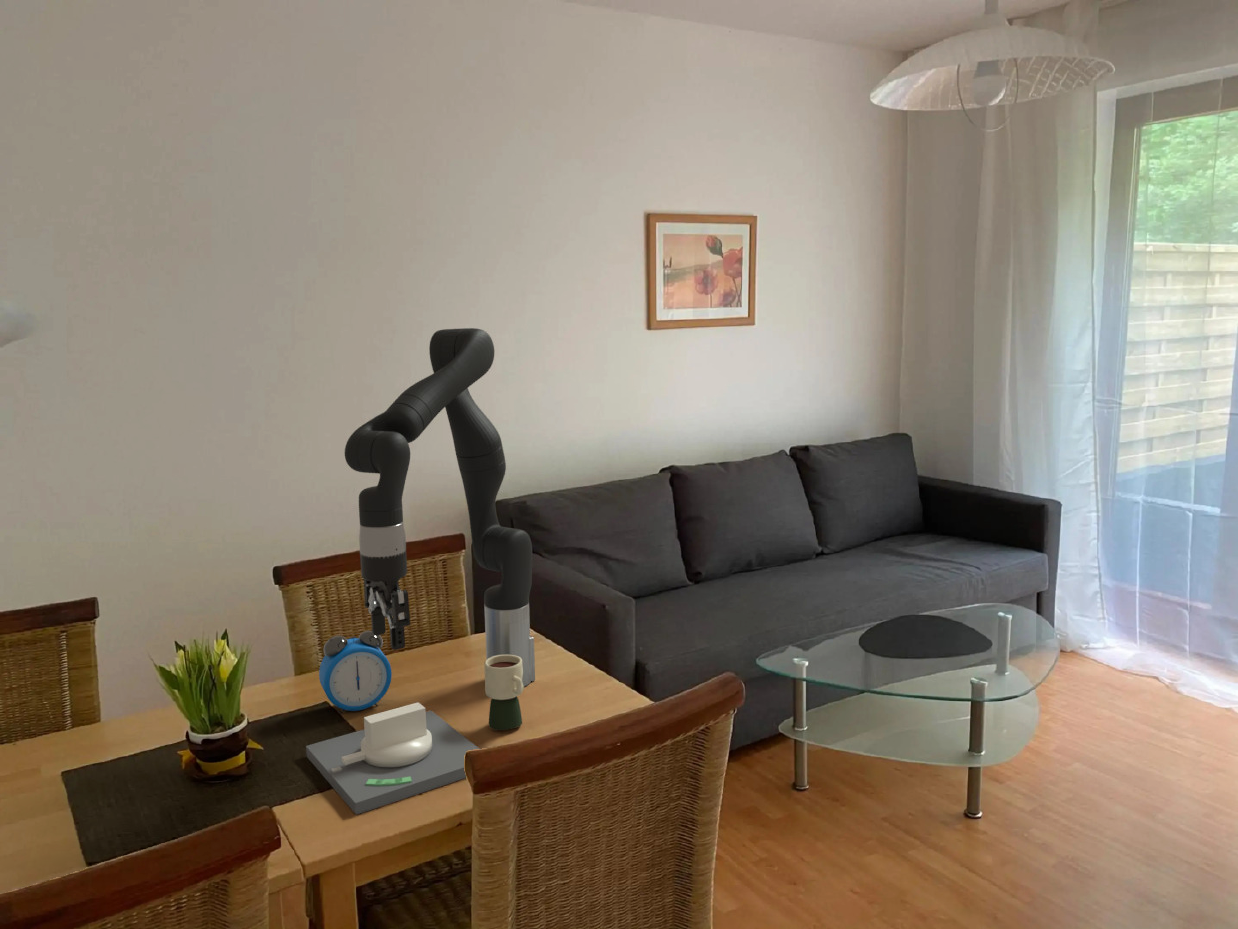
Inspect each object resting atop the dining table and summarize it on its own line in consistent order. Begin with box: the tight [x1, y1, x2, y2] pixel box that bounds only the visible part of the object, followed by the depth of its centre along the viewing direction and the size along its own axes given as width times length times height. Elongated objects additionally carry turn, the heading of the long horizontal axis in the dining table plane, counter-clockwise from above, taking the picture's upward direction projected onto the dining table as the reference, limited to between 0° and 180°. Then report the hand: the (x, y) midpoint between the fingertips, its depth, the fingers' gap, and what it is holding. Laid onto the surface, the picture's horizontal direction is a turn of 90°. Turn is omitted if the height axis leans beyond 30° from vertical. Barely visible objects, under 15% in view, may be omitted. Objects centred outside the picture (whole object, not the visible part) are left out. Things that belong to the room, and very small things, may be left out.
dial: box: [342, 702, 432, 767], centre depth 162 cm, size 16×12×7 cm
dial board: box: [305, 710, 480, 815], centre depth 164 cm, size 24×24×2 cm
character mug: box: [484, 655, 525, 731], centre depth 177 cm, size 11×7×13 cm, turn 40°
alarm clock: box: [318, 630, 393, 714], centre depth 186 cm, size 13×6×15 cm, turn 117°
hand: (388, 641), depth 161 cm, fingers open, 8 cm apart
